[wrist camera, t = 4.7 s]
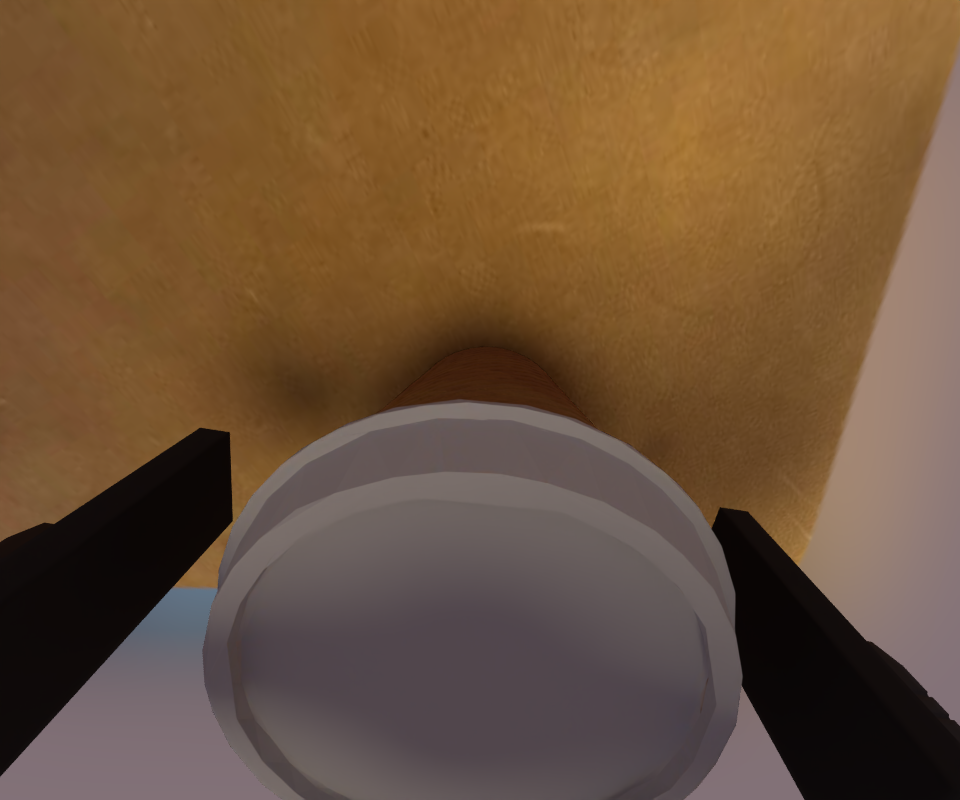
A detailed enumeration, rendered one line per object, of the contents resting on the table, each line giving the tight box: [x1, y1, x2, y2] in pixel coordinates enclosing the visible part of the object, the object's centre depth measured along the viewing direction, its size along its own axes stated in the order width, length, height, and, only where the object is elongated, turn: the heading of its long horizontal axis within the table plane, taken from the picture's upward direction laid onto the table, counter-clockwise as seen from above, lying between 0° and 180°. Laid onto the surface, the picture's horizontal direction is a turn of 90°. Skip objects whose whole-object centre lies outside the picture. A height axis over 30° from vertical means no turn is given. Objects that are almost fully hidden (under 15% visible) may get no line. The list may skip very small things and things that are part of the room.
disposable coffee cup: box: [203, 347, 743, 800], centre depth 13 cm, size 10×10×12 cm
